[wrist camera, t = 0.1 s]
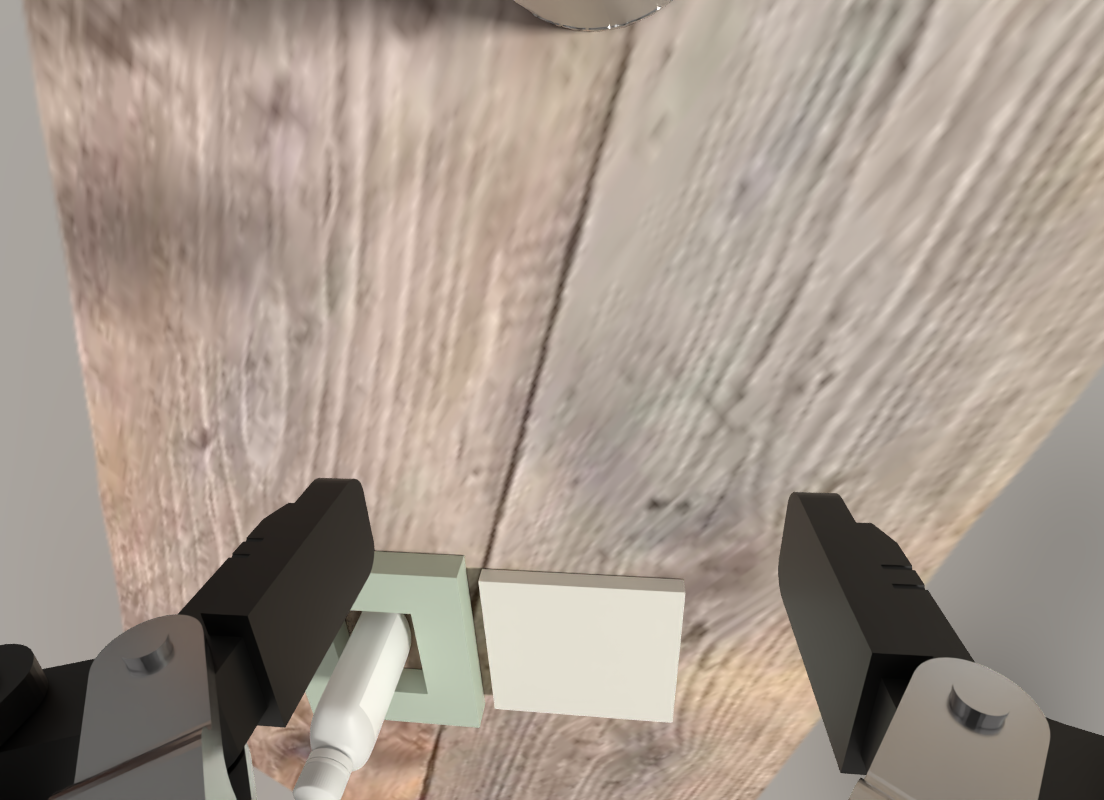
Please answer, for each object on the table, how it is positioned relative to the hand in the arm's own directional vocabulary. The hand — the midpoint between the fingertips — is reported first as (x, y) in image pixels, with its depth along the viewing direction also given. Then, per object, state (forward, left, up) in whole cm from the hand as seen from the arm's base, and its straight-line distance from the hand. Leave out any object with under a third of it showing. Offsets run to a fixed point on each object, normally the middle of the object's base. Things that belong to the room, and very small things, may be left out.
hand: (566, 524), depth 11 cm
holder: (+25, -14, -17) cm, 33 cm away
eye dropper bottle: (+25, -14, -18) cm, 33 cm away
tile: (+25, -1, -17) cm, 30 cm away
